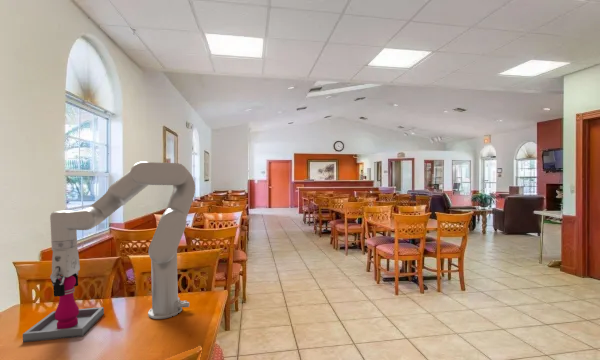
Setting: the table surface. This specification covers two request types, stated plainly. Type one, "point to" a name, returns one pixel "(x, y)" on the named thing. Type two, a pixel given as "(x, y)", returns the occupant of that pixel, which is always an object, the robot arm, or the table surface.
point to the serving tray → (49, 329)
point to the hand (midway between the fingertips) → (66, 290)
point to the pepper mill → (67, 306)
